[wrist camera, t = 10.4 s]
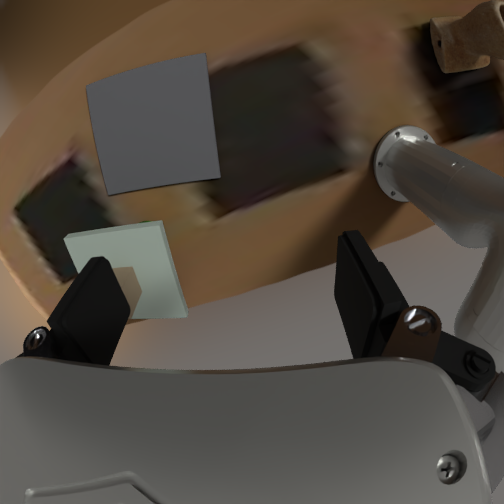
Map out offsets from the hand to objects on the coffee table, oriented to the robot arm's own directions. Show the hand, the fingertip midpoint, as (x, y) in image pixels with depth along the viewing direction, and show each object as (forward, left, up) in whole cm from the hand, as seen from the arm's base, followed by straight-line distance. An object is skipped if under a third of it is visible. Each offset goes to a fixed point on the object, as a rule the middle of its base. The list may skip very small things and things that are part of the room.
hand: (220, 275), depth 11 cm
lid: (+16, +13, -19) cm, 28 cm away
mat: (+12, -4, -30) cm, 32 cm away
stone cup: (-37, -20, -30) cm, 52 cm away
